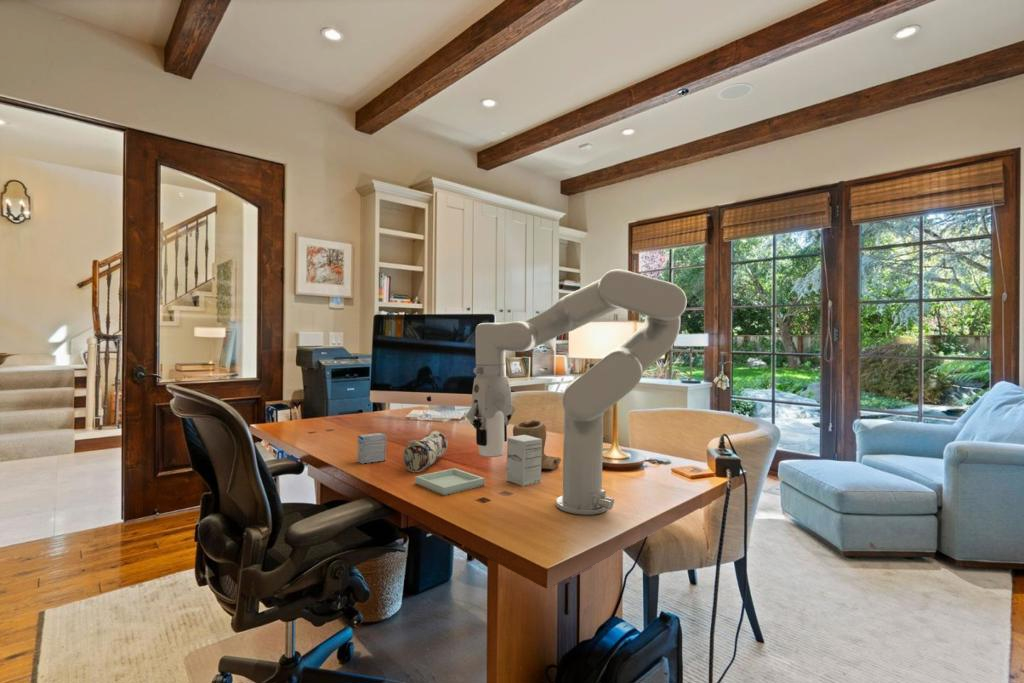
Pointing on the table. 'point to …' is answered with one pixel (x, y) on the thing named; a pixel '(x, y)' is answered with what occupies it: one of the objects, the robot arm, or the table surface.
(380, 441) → the medicine box
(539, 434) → the brown boot
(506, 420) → the robot arm
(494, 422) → the can
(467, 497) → the table surface
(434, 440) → the pencil case
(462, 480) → the tray
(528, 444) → the supplement box
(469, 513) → the table surface
